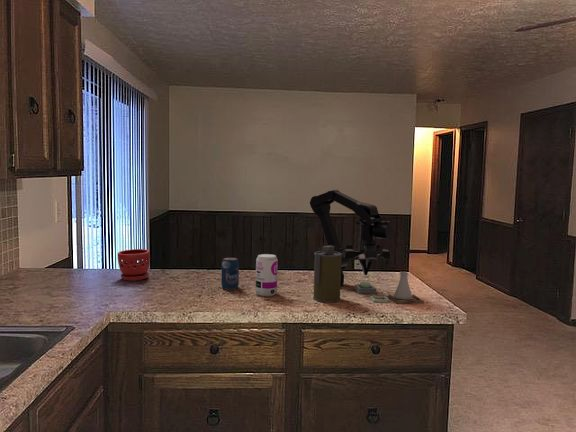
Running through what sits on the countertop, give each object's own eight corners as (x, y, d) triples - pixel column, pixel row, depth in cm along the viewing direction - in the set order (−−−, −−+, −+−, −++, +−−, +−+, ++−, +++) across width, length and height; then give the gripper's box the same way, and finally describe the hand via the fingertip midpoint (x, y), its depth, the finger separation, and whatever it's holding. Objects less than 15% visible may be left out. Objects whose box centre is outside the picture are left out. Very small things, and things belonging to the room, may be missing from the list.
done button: (361, 288, 192) (361, 284, 191) (359, 286, 196) (359, 281, 195) (371, 288, 192) (371, 283, 192) (368, 286, 196) (368, 281, 196)
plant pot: (137, 274, 216) (137, 247, 215) (156, 278, 208) (156, 250, 207) (111, 278, 205) (111, 251, 204) (130, 283, 198) (130, 254, 197)
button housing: (358, 293, 190) (359, 288, 190) (354, 289, 197) (354, 284, 197) (376, 293, 191) (376, 288, 191) (371, 289, 198) (371, 284, 198)
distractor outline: (374, 302, 178) (374, 300, 178) (369, 297, 184) (369, 295, 184) (389, 302, 179) (390, 300, 179) (384, 297, 185) (384, 295, 185)
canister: (325, 293, 189) (326, 243, 187) (346, 299, 181) (348, 246, 179) (306, 298, 181) (307, 245, 179) (327, 304, 174) (329, 249, 172)
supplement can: (280, 292, 188) (281, 255, 187) (270, 297, 181) (271, 258, 180) (262, 290, 192) (262, 253, 190) (251, 295, 184) (252, 256, 183)
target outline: (396, 303, 177) (396, 300, 177) (388, 296, 187) (388, 294, 187) (423, 303, 178) (423, 300, 178) (413, 296, 188) (413, 293, 188)
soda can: (227, 290, 190) (228, 260, 189) (218, 287, 195) (218, 258, 194) (242, 288, 194) (242, 258, 193) (232, 284, 200) (232, 256, 198)
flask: (413, 301, 181) (414, 274, 180) (393, 299, 182) (394, 273, 182) (412, 296, 188) (413, 271, 187) (393, 295, 190) (394, 269, 189)
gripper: (349, 239, 183) (347, 279, 184) (396, 239, 185) (394, 279, 187) (342, 235, 194) (341, 273, 195) (387, 235, 196) (385, 273, 198)
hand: (365, 275), depth 193 cm, fingers closed
